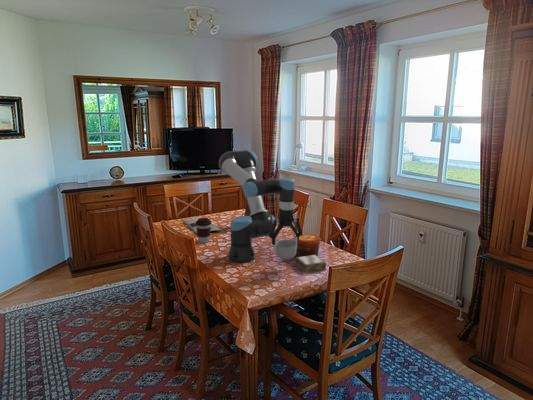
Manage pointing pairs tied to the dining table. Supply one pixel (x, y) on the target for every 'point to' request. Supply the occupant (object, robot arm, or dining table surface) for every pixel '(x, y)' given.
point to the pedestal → (310, 263)
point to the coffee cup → (203, 230)
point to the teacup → (286, 249)
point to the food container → (308, 245)
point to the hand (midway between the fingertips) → (285, 249)
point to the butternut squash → (247, 208)
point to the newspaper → (193, 225)
